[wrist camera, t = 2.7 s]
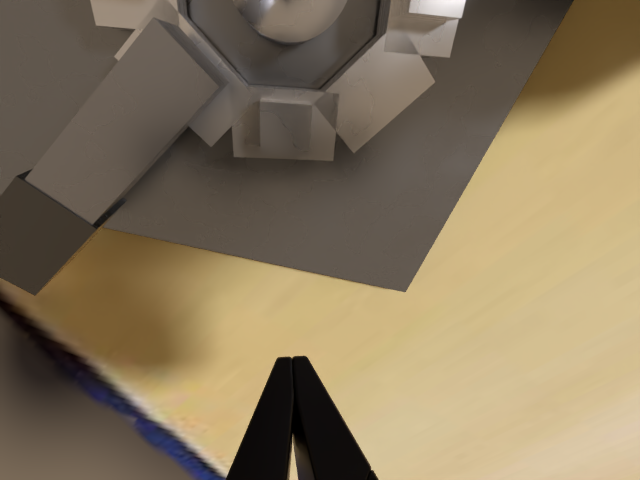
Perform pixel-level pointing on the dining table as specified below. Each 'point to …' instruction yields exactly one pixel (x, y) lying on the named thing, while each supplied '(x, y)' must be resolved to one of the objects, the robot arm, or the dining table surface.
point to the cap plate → (286, 174)
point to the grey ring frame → (201, 119)
